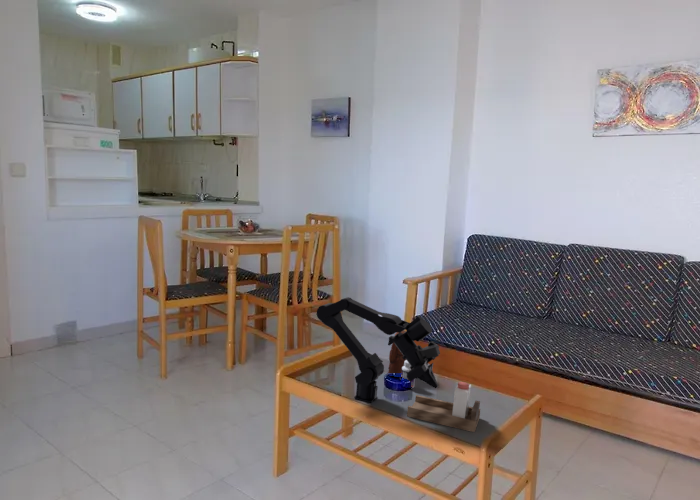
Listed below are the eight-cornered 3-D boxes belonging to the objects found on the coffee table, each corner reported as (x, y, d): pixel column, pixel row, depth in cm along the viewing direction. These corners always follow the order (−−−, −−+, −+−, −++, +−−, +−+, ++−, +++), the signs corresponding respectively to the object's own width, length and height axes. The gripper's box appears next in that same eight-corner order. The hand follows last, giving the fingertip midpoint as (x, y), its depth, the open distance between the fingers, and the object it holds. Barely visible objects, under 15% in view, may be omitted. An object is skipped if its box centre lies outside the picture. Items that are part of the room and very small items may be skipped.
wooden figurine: (396, 368, 215) (400, 327, 213) (410, 372, 212) (414, 330, 210) (384, 376, 205) (388, 332, 203) (399, 380, 202) (403, 335, 200)
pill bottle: (403, 382, 199) (405, 358, 198) (416, 385, 197) (418, 361, 196) (398, 386, 194) (400, 361, 193) (411, 390, 192) (413, 365, 191)
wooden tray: (406, 416, 168) (408, 398, 167) (415, 403, 179) (417, 386, 179) (474, 432, 160) (476, 413, 160) (479, 418, 171) (481, 400, 171)
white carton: (451, 420, 165) (455, 386, 163) (456, 410, 172) (459, 378, 171) (464, 423, 163) (467, 389, 162) (467, 413, 171) (471, 381, 170)
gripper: (420, 342, 161) (451, 383, 159) (433, 329, 179) (460, 366, 176) (394, 360, 165) (423, 401, 162) (408, 346, 182) (435, 383, 180)
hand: (437, 387), depth 170 cm, fingers closed
